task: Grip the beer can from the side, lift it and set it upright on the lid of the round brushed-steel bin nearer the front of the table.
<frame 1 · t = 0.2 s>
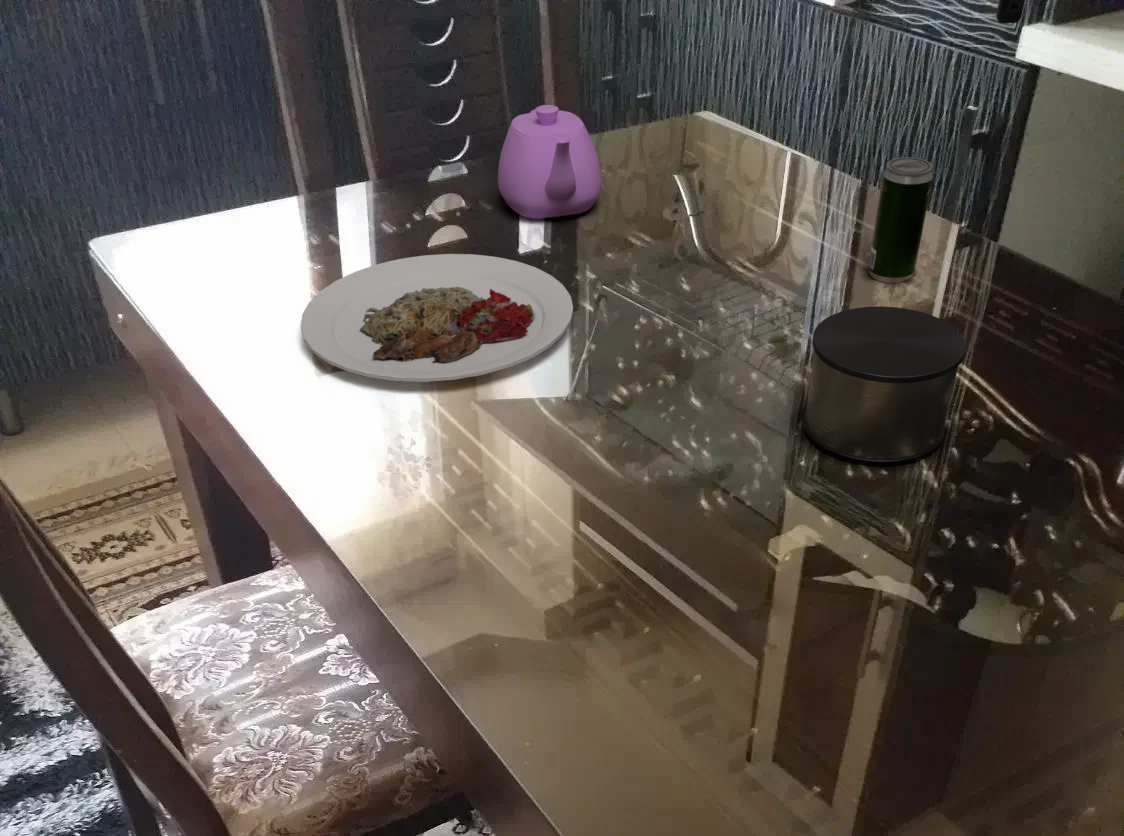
hand: (996, 10, 115), 27 cm above the table, tool pointing down, fingers open, 8 cm apart
teapot: (552, 210, 151), on the table
beer can: (890, 276, 134), on the table
plated food: (439, 329, 128), on the table
steel bin: (872, 428, 111), on the table
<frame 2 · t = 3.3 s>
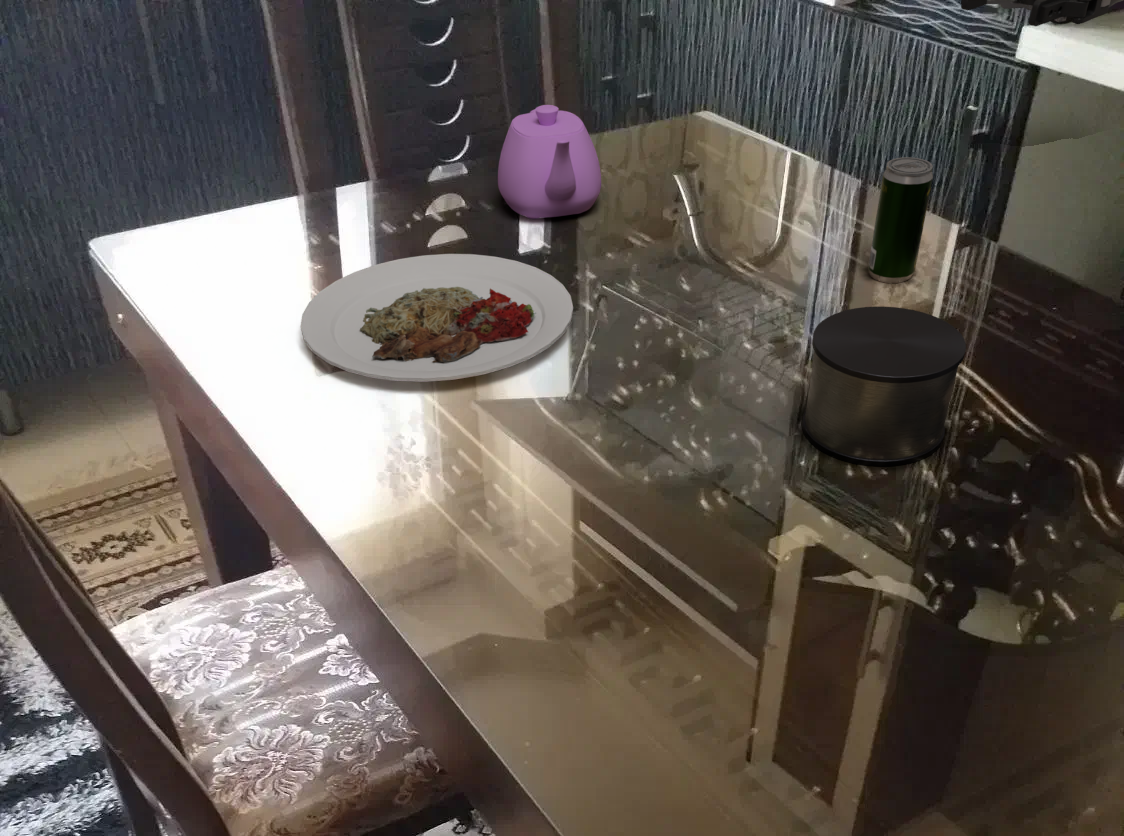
hand: (998, 6, 121), 25 cm above the table, tool horizontal, fingers open, 8 cm apart
nothing on the table moved.
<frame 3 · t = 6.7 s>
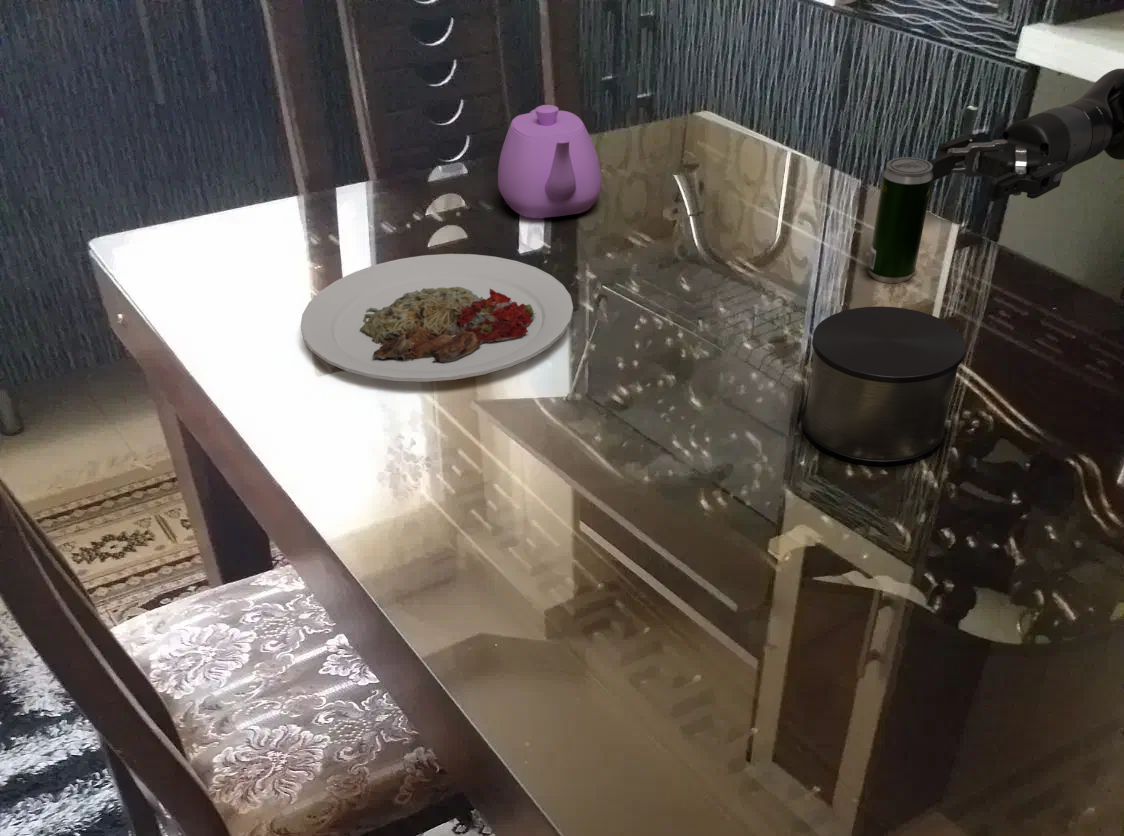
hand: (960, 181, 133), 8 cm above the table, tool horizontal, fingers open, 8 cm apart
nothing on the table moved.
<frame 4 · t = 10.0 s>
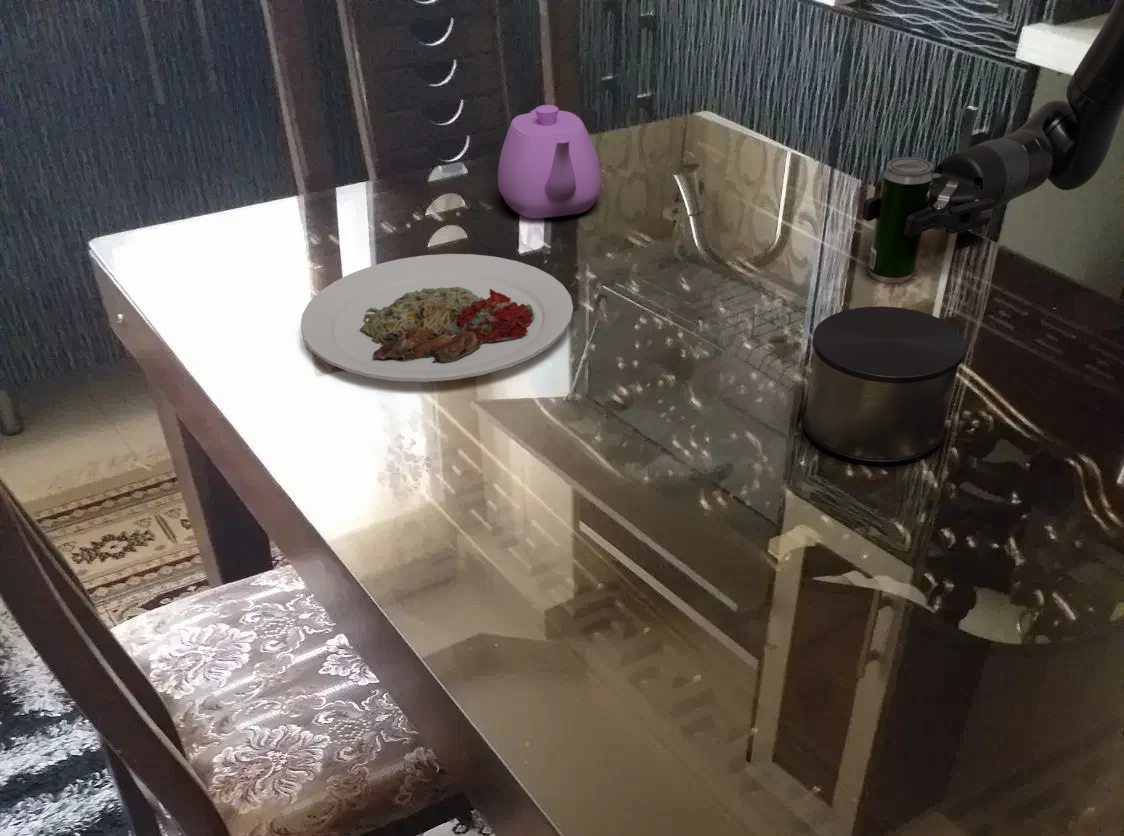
hand: (886, 219, 128), 7 cm above the table, tool horizontal, fingers closed on beer can, 5 cm apart
beer can: (890, 276, 134), on the table, touching gripper
everything else where it was.
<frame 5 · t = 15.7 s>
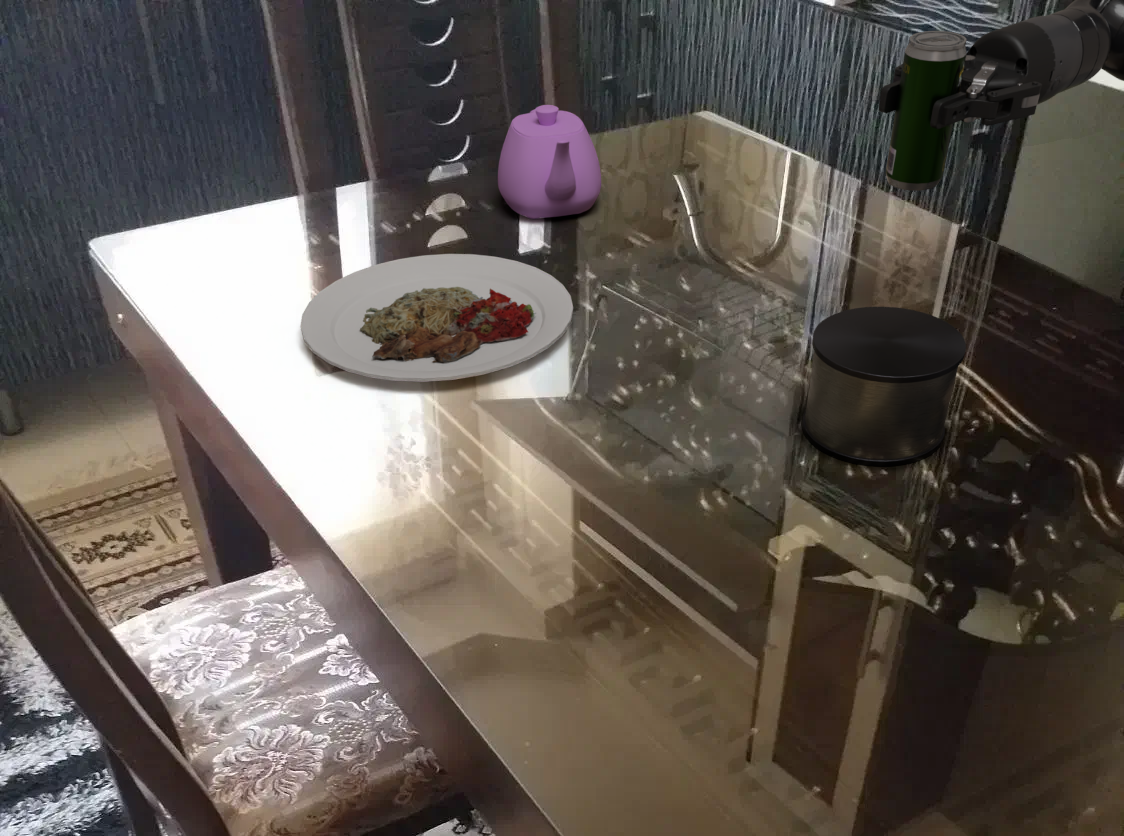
hand: (909, 108, 104), 24 cm above the table, tool horizontal, fingers closed on beer can, 5 cm apart
beer can: (912, 183, 110), point 16 cm above the table, touching gripper
everything else where it was.
when the fingers open (16 cm above the table, at t = 21.4 s): beer can stays where it is, resting on steel bin.
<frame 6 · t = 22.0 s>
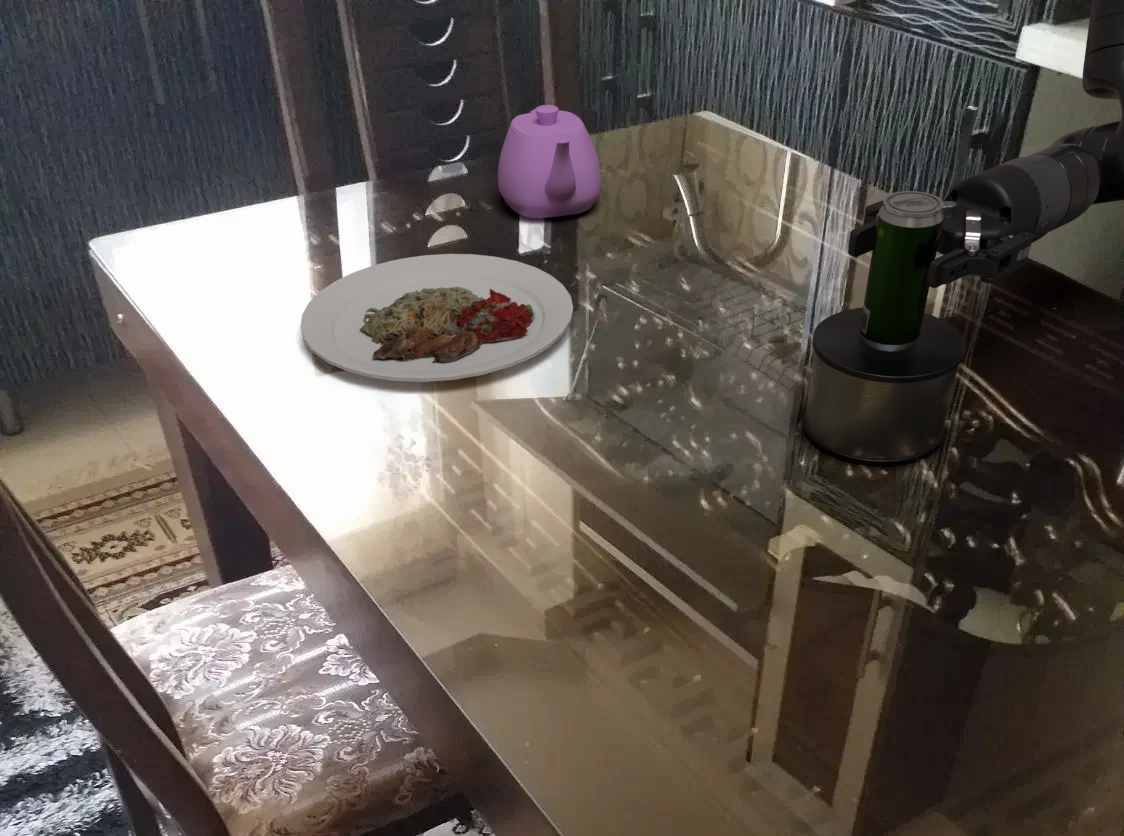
hand: (890, 259, 98), 17 cm above the table, tool horizontal, fingers open, 8 cm apart
beer can: (887, 341, 104), point 9 cm above the table, touching steel bin
everything else where it was.
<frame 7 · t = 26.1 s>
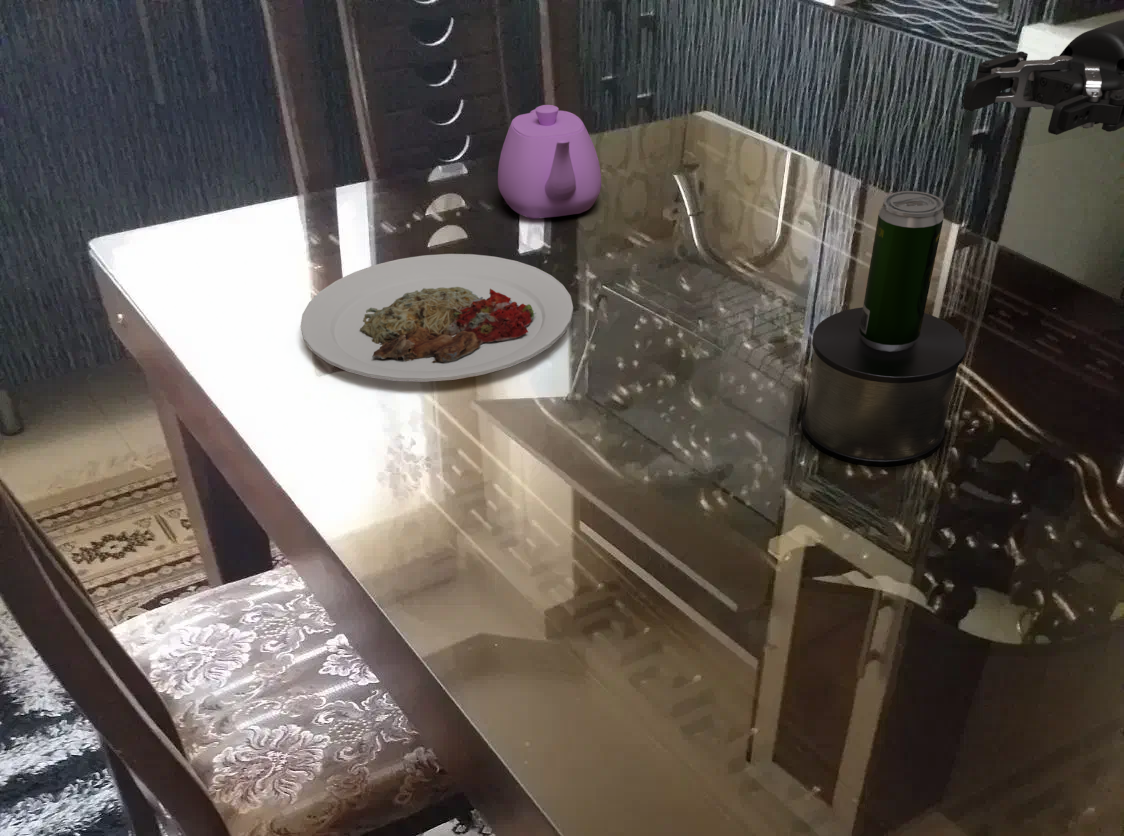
hand: (1010, 109, 97), 26 cm above the table, tool horizontal, fingers open, 8 cm apart
nothing on the table moved.
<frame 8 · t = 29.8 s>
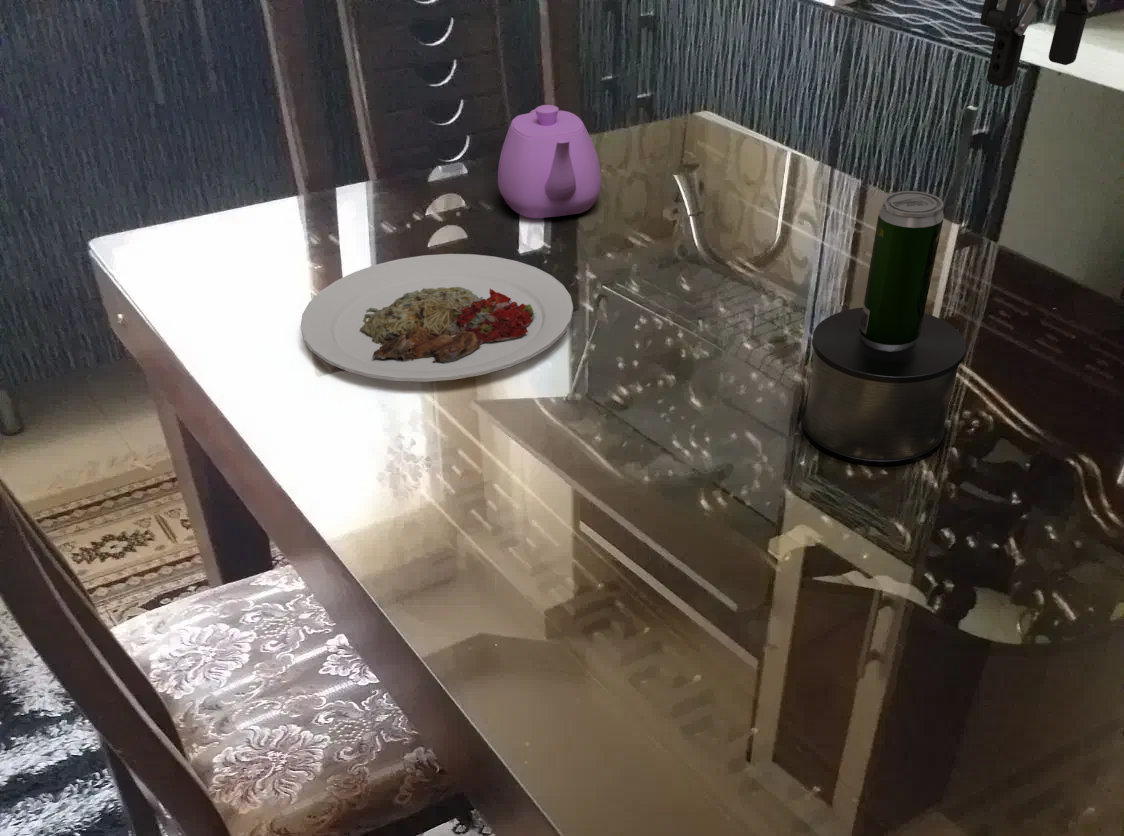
hand: (1030, 73, 96), 28 cm above the table, tool pointing down, fingers open, 8 cm apart
nothing on the table moved.
at the end: beer can inside the target area on the steel bin (0.2 cm from its centre), point 8.8 cm above the steel bin's base; beer can tilted 0°; the gripper is holding nothing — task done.
